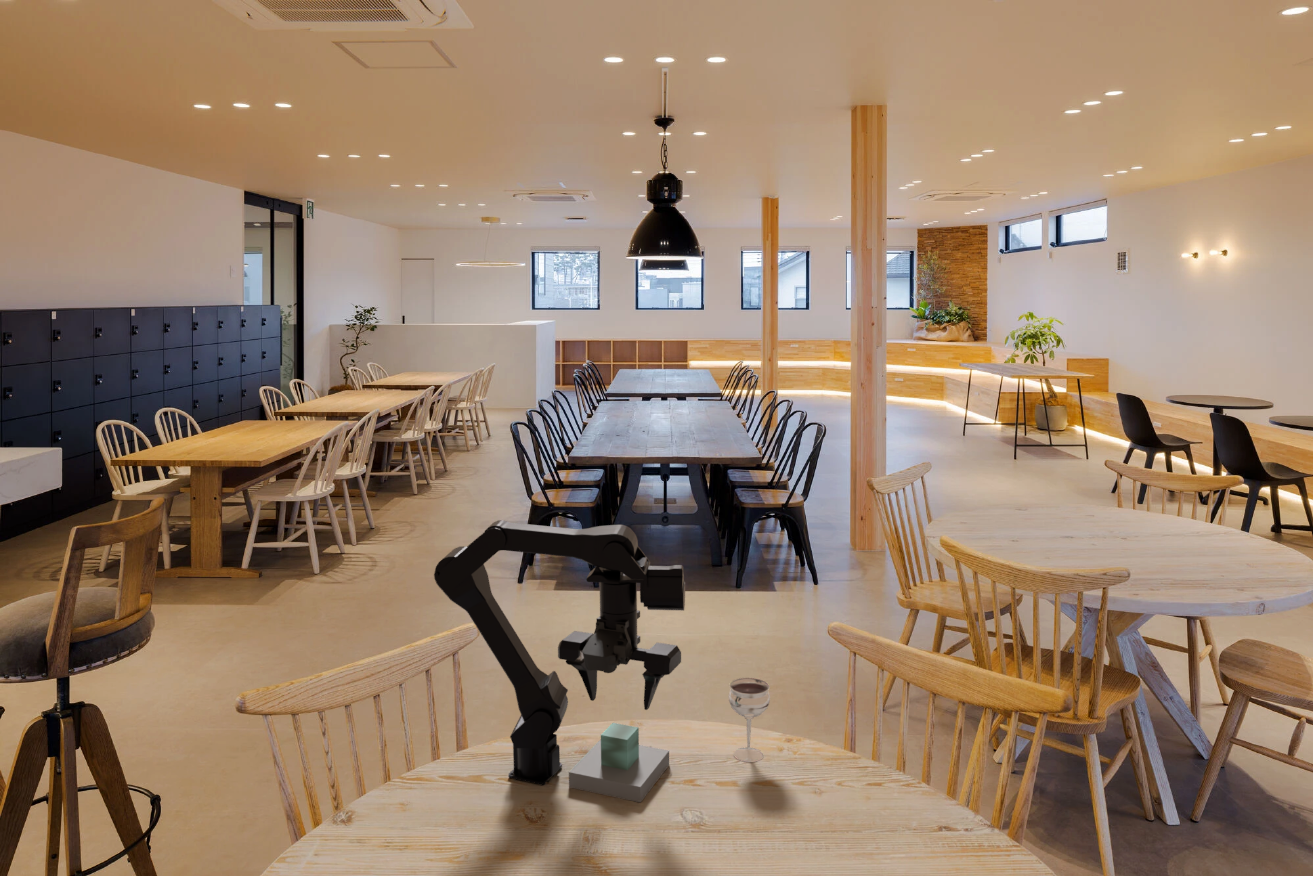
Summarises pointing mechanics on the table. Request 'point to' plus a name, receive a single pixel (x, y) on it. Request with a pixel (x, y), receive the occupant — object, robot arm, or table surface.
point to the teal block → (619, 746)
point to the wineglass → (749, 709)
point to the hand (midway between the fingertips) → (619, 704)
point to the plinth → (619, 774)
